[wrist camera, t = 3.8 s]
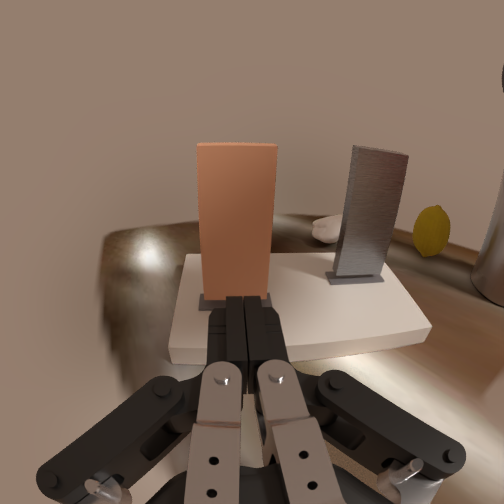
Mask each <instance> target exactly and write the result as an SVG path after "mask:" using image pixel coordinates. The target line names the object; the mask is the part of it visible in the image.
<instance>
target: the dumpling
mask: <svg viewBox="0 0 504 504" xmlns="http://www.w3.org/2000/svg"><path fill="white" fill-rule="evenodd" d="M342 217H343V215H342V214H338V215H334V216H329V217H325V218H321V219H318V220H315V221H314V222H313V226H314V227H313V230H312V236H313V237H314V238H316V239H317V240H320V241H321V242H324V243H335V242H336V241H338V238H339V233H340V228H341V222H342Z"/></svg>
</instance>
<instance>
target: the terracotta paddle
mask: <svg viewBox="0 0 504 504" xmlns="http://www.w3.org/2000/svg"><path fill="white" fill-rule="evenodd" d="M277 149H278V147H277V145H276V144H270V143H199V144H198V145H197V179H198V180H197V181H198V207H199V208H198V209H199V230H200V247H201V263H202V277H203V290H204V300H226V296H242V298H243V296H260V297H261V299H267V288H268V276H269V263H270V251H271V238H272V224H273V210H274V196H275V181H276V165H277Z"/></svg>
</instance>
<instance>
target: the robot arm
mask: <svg viewBox="0 0 504 504" xmlns="http://www.w3.org/2000/svg"><path fill="white" fill-rule="evenodd" d="M502 87H503V92H504V66H503V72H502ZM471 280H472V282H473V284H474V285H475V287H476V288H477V289H478V290H479V291H480V292H481V293H482V294H483V295H484V296H485V297H487V298H488V299H489V300H491V301H492V302H494V303H496V304H498V305H501V306H504V172H503V176H502V181H501V186H500V189H499V193H498V197H497V201H496V205H495V208H494V212H493V215H492V218H491V221H490V225H489V228H488V231H487V234H486V237H485V239H484V243H483V245H482V248H481V250H480V253H479V255H478V258H477V261H476V263H475V266H474V268H473V270H472V273H471ZM247 387H248V394H254V401H255V405H254V412H255V417H256V422H257V427H258V432H259V437H260V442H261V447H262V459H263V465H264V467H262V468H251V467H245V466H240V442H241V411H242V408H243V394H246V392H247ZM191 430H192V435H191V443H190V451H189V460H188V469H187V471H184V472H182V473H180V474H178V475H176V476H174V477H173V478H172V479H170V480H169V481H168V482H167V483H166V484H165V485H164V486H163V487H162V488H161V489H160V490H159V491H158V492H157V493H156V494H155V495H154V496H153V497H152V498H151V499H150V500H149V501H148V502H146V503H145V504H430V502H431V501H432V499H433V497H434V496H435V494H436V492H437V490H438V489H439V487H440V485H441V483H442V481H443V480H444V479H446V478H447V477H449V476H451V475H453V474H454V473H456V472H458V471H459V470H460V469H461V468H462V467H463V466H464V464H465V461H466V452H465V449H464V447H463V446H462V445H461V444H460V443H459V442H457V441H455V440H454V439H452V438H450V437H448V436H447V435H445V434H443V433H441V432H440V431H438V430H436V429H435V428H433V427H431V426H429V425H428V424H426V423H424V422H423V421H421V420H419V419H418V418H416V417H414V416H413V415H411V414H409V413H408V412H406V411H405V410H403V409H401V408H400V407H398V406H396V405H395V404H393V403H392V402H390V401H388V400H387V399H385V398H384V397H382V396H381V395H379V394H377V393H376V392H374V391H373V390H371V389H370V388H368V387H367V386H365V385H364V384H362V383H360V382H359V381H357V380H356V379H354V378H353V377H351V376H350V375H348V374H347V373H345V372H343V371H340V370H329V371H326V372H324V373H323V374H322V375H321V376H314V375H308V374H304V373H301V372H299V371H297V370H296V369H295V368H294V367H293V366H292V365H291V364H290V362H289V359H288V354H287V349H286V345H285V340H284V336H283V332H282V326H281V322H280V317H279V314H278V313H277V312H276V311H275V309H274V308H273V307H262V303H261V297H260V296H243V298H242V296H226V308H214V309H213V310H212V312H211V313H210V315H209V319H208V339H207V362H206V366H205V368H204V370H203V371H202V373H200V374H199V375H198V376H196V377H194V378H191V379H188V380H184V381H180V382H179V381H177V380H176V379H175V378H173V377H170V376H158V377H155V378H153V379H151V380H150V381H149V382H147V383H146V384H145V385H144V386H143V387H141V388H140V389H139V390H138V391H137V392H135V393H134V394H133V395H132V396H130V397H129V398H128V399H127V400H126V401H124V402H123V403H122V404H121V405H119V406H118V407H117V408H116V409H114V410H113V411H112V412H111V413H110V414H108V415H107V416H106V417H105V418H103V419H102V420H101V421H99V422H98V423H97V424H96V425H94V426H93V427H92V428H91V429H89V430H88V431H87V432H85V433H84V434H83V435H82V436H80V437H79V438H78V439H76V440H75V441H74V442H73V443H71V444H70V445H69V446H67V447H66V448H65V449H63V450H62V451H61V452H60V453H58V454H57V455H55V456H54V457H53V458H52V459H50V460H49V461H48V462H46V463H45V464H43V465H42V466H41V467H40V468H39V469H38V471H37V474H36V482H37V485H38V487H39V489H40V490H41V492H42V493H43V494H44V495H45V496H47V497H48V498H50V499H53V500H55V501H57V502H59V503H60V504H132V497H131V494H130V492H129V490H128V489H129V488H130V487H131V486H132V485H133V484H135V483H136V482H137V481H138V480H139V479H140V478H142V477H143V476H144V475H145V474H146V473H147V472H148V471H150V470H151V469H152V468H153V467H154V466H155V465H156V464H157V463H158V462H159V461H161V460H162V459H163V458H164V457H165V456H166V455H167V454H168V453H169V452H170V451H171V450H172V449H173V448H174V447H175V446H176V445H177V444H178V443H180V442H181V441H182V440H183V439H184V438H185V437H186V436H187V435H188V434H189V433H190V431H191ZM324 439H325V440H326V441H328V442H329V443H330V444H332V445H333V446H335V447H336V448H337V449H339V450H340V451H342V452H343V453H344V454H346V455H347V456H349V457H350V458H352V459H353V460H355V461H356V462H358V463H359V464H361V465H362V466H364V467H365V468H367V469H368V470H370V471H372V472H373V473H375V474H376V475H378V476H377V486H378V488H379V490H380V491H381V492H382V493H383V494H385V496H386V497H387V498H385V497H384V496H382V495H381V494H379V493H378V492H376V491H375V490H373V489H372V488H370V487H369V486H367V485H366V484H364V483H363V482H361V481H360V480H359V479H357V478H356V477H354V476H353V475H352V474H350V473H349V472H348V471H346V470H345V469H343V468H341V467H339V466H337V465H335V464H332V463H331V460H330V457H329V454H328V451H327V448H326V445H325V442H324Z"/></svg>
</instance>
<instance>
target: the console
mask: <svg viewBox="0 0 504 504" xmlns="http://www.w3.org/2000/svg"><path fill="white" fill-rule="evenodd" d="M334 258H335V253H270V263H269V276H268V288H267V299H261V303H262V307H273V308H274V309H275V311H276V312H277V313H278V314H279V317H280V322H281V326H282V332H283V336H284V340H285V345H286V349H287V354H288V359H289V362H294V361H306V360H316V359H325V358H334V357H342V356H349V355H356V354H363V353H369V352H375V351H381V350H387V349H392V348H398V347H403V346H408V345H412V344H417V343H422V342H424V340H425V339H426V337H427V335H428V333H429V332H430V330H431V328H432V326H431V324H430V323H429V321H428V320H427V318H426V317H425V315H424V314H423V313H422V311H421V310H420V308H419V307H418V306H417V304H416V303H415V301H414V300H413V299H412V297H411V296H410V295H409V293H408V292H407V291H406V289H405V288H404V287H403V285H402V284H401V283H400V281H399V280H398V279H397V277H396V276H395V275H394V274H393V272H392V271H391V270H390V268H389V267H388V266H387V265H386V263H385V262H384V265H383V268H382V271H381V274H367V275H342V276H336V275H335V273H334V271H333V269H332V268H333V263H334ZM214 308H226V300H204V290H203V277H202V263H201V254H186V259H185V263H184V268H183V272H182V277H181V281H180V286H179V291H178V296H177V301H176V306H175V311H174V316H173V321H172V327H171V332H170V338H169V343H168V350H169V354H170V358H171V361H172V364H189V365H206V362H207V339H208V319H209V315H210V313H211V312H212V310H213V309H214Z"/></svg>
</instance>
